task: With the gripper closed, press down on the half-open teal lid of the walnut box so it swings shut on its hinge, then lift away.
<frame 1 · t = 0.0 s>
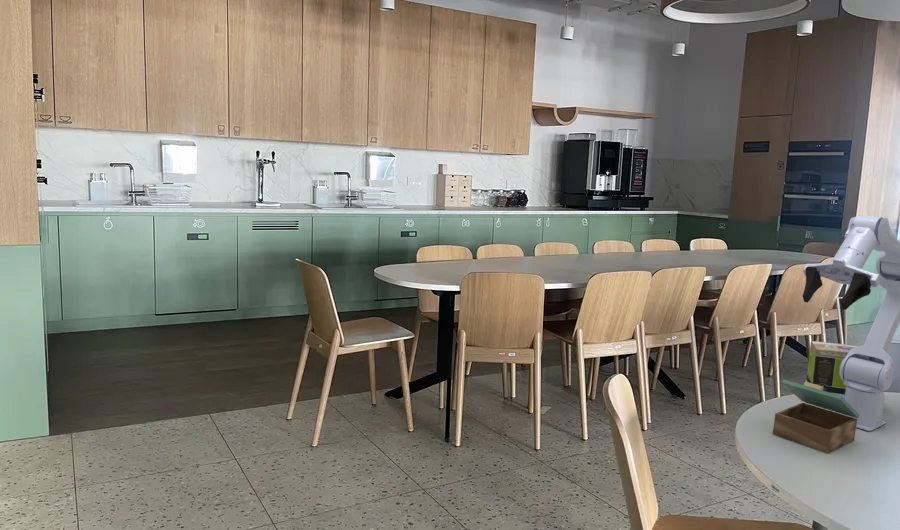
hand: (823, 302, 141), 32 cm above the table, tool tilted 50°, fingers open, 7 cm apart
tea box: (838, 402, 178), on the table
walnut box: (813, 437, 153), on the table
lid: (821, 397, 152), point 9 cm above the table, hinge at 30.0°
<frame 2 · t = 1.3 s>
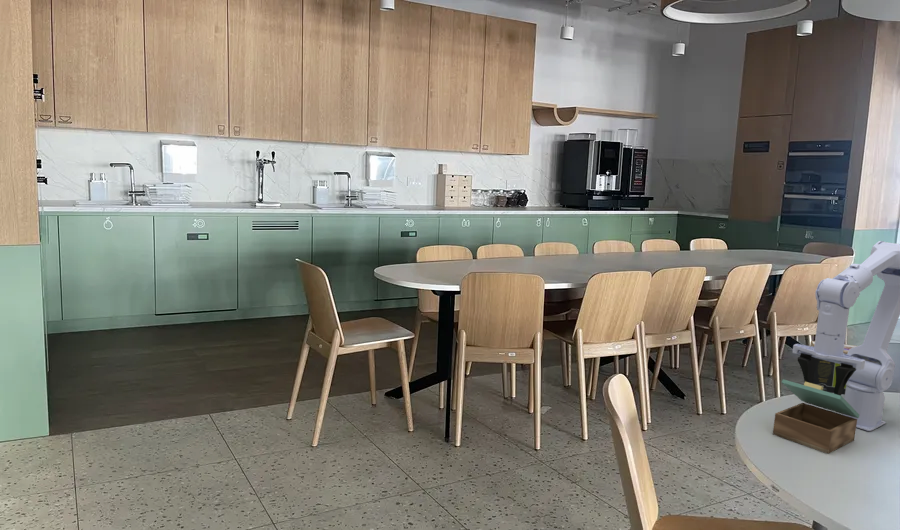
hand: (822, 391, 152), 10 cm above the table, tool pointing down, fingers open, 6 cm apart
nothing on the table moved.
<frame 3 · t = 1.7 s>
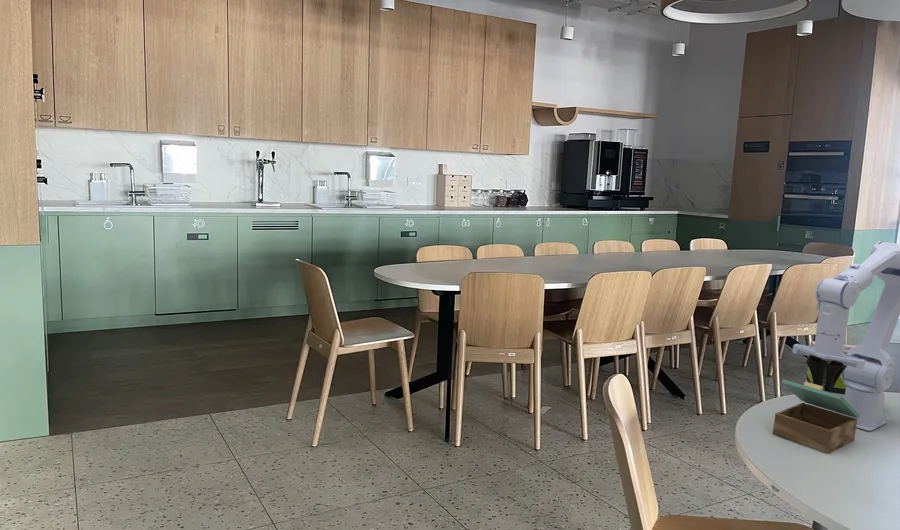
hand: (822, 391, 152), 10 cm above the table, tool pointing down, fingers closed
nothing on the table moved.
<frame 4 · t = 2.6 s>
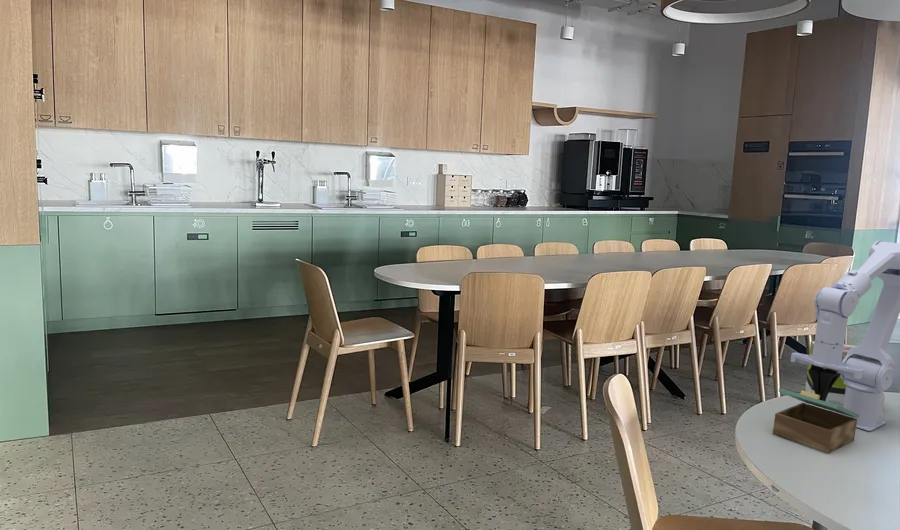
hand: (820, 400, 152), 8 cm above the table, tool pointing down, fingers closed, pressing on lid
lid: (819, 401, 152), point 8 cm above the table, hinge at 20.5°, touching gripper
everything else where it was.
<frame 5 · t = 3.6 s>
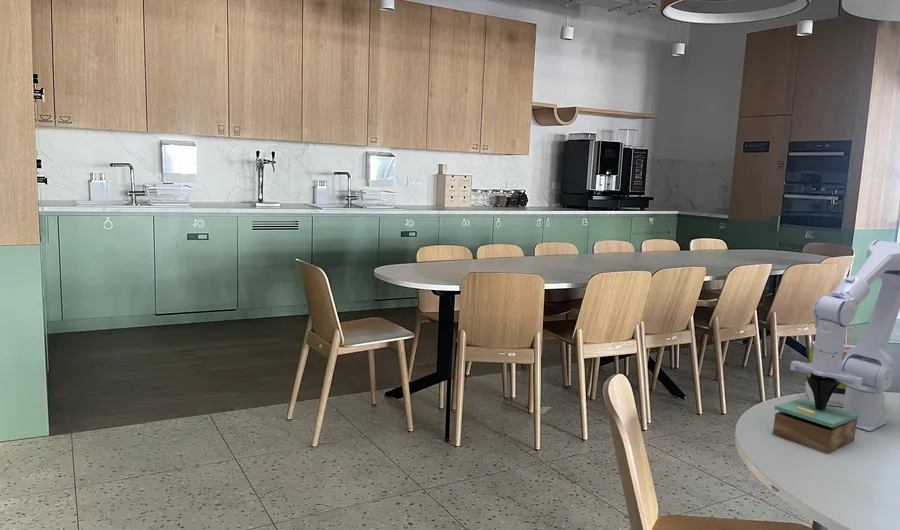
hand: (820, 408, 153), 6 cm above the table, tool pointing down, fingers closed
lid: (817, 409, 152), point 6 cm above the table, hinge at 2.7°
everything else where it was.
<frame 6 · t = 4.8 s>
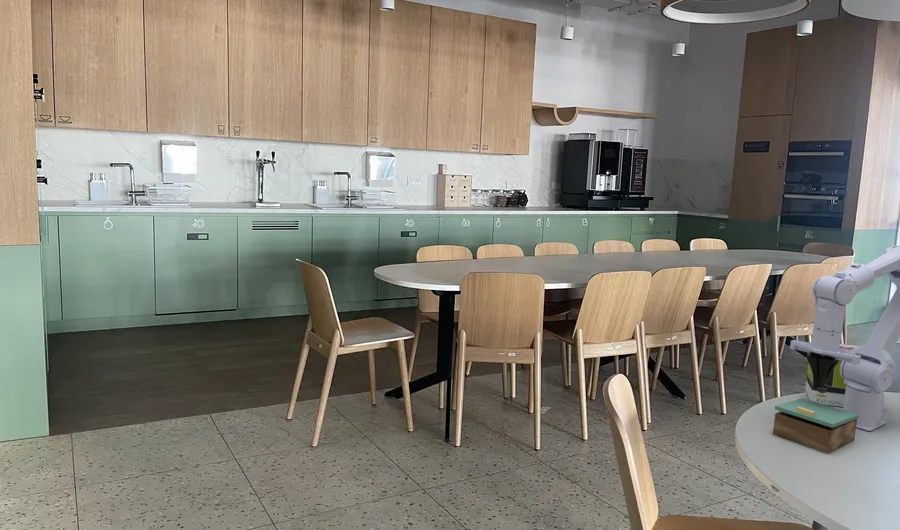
hand: (819, 386, 156), 10 cm above the table, tool pointing down, fingers closed
nothing on the table moved.
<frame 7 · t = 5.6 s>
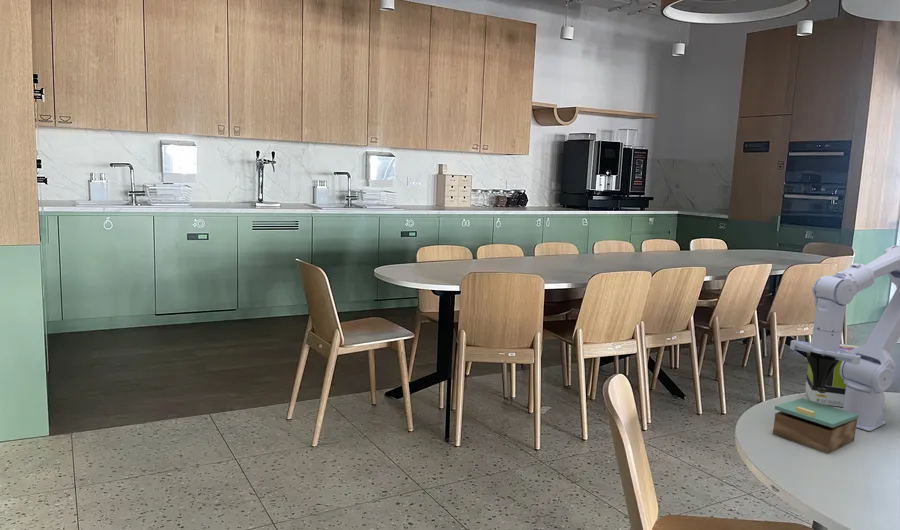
hand: (819, 386, 156), 10 cm above the table, tool pointing down, fingers closed
nothing on the table moved.
at the end: lid at +3° (first picture: +30°); tea box moved 0.3 cm from its start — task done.
